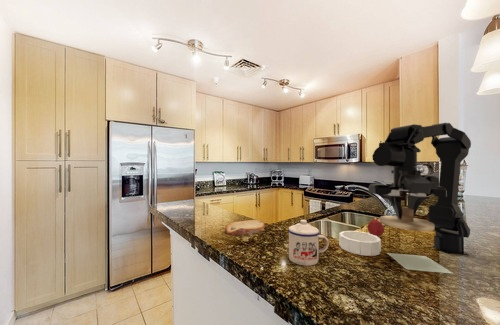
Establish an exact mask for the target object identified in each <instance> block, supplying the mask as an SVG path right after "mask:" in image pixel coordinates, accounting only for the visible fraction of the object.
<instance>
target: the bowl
mask: <svg viewBox="0 0 500 325" xmlns="http://www.w3.org/2000/svg"><path fill="white" fill-rule="evenodd" d="M338 245H339V247H340V248H341V249H342V250H344V251H346V252H348V253H350V254H355V255H358V256H368V257H369V256H370V257H374V256H378V255H380V254H381V252H382V239H381V238H380V236H379V237H377V236H375V235H372V234H370V233H369V232H363V231H357V230H343V231H340V232H339V233H338Z"/></svg>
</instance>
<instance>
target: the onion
mask: <svg viewBox="0 0 500 325" xmlns="http://www.w3.org/2000/svg"><path fill="white" fill-rule="evenodd" d="M366 229H367V231H368V233H369V234H372V235H375V236H377V237H379V238H380V237H382V236H383V235H384V232H385V228H384V224H383V223H381V222H380V220H378V218H377V217H374V218H373V220H371V221H369V222H368V224H367V228H366Z"/></svg>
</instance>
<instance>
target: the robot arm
mask: <svg viewBox="0 0 500 325" xmlns="http://www.w3.org/2000/svg"><path fill="white" fill-rule="evenodd" d="M438 136H439V137H440V136H446V137H440V138H438ZM447 136H448V137H447ZM427 138H431V142H430V144H431V146H433V148H434V149H435V155H436V156H437V157H438V158H439V160H440V169H439V170H440V172H439V177H438V176H435V175H428V176H426V177H424V176H423V177H422V174H421V170H420V169H419V170H418V155H417V154H418V153H421V149H420V148H419V147H418V146H417V145H416V144H420V142H422V141H424V140H425V139H427ZM471 145H472V141H471V139H470V138H469V136H468V134H466V133H465V131H462V130H460V129H458V128H455V127H453V125H452V124H451V123H450V122H442V123H433V124H432V125H426V126H422V124H408V125H403V126H397V127H393V128H391V129H390V132H389V133H388V135H387V137H386V138H385V141H384V142H379V143H378V147H377V148H376V149H375V150H374V151H373V154H372V157H371V158H372V161H373V163H374V164H376V166H379V167H393V169H392V170H391V173H390V174H393V182H391V185H389V184H383V183H382V184H381V183H370V184H369V186H368V189H367V190H368V194H369V193H370V194H374V195H383V196H384V197H386V198H387V200H388V201H389V203H390V204H391V207H392V208H393V210H394V213H395V216H397V217H398V218H399V219H401V216H402V211H401V208H402V200H403V198H404V196H401V194H406V197H407V198H406V200H407V208H410V209H413V210H414V217H415V216H416V214H417V211H418V209H419V208H420V205H421V204H422V203H423V202H424V201H426V200H429V199H430V197H429V196H427V195H432V196H434V197H437V201H436V202H434V204H433V205H432V204H431V205H429V207H428V208H429V209H428V210H429V211H428V215H427V221H429V222H432V223H434V224H435V229H434V230H432V231H434V232H435V234H434V236H433V240H434V242H433V243H434V245H432V247H433V248H435V249H437V250H438V251H440V252H443V253H445V254H450V255H463V256H464V255H466V256H469V253H466V252H465V241H464V240H465V238H467V239H468V238H470V235H471V228H470V227H469V225H468V224H467V221H466V220H465V219H464V212H463V211H462V209H461V208H460V207H459V205H458V198H459V197H458V196H459V188H460V186H459V185H460V176H461V175H460V173H461V163H462V161H464V159H466V158H467V156H468V155H469V153H470V152H469V151H470V148H471Z"/></svg>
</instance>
